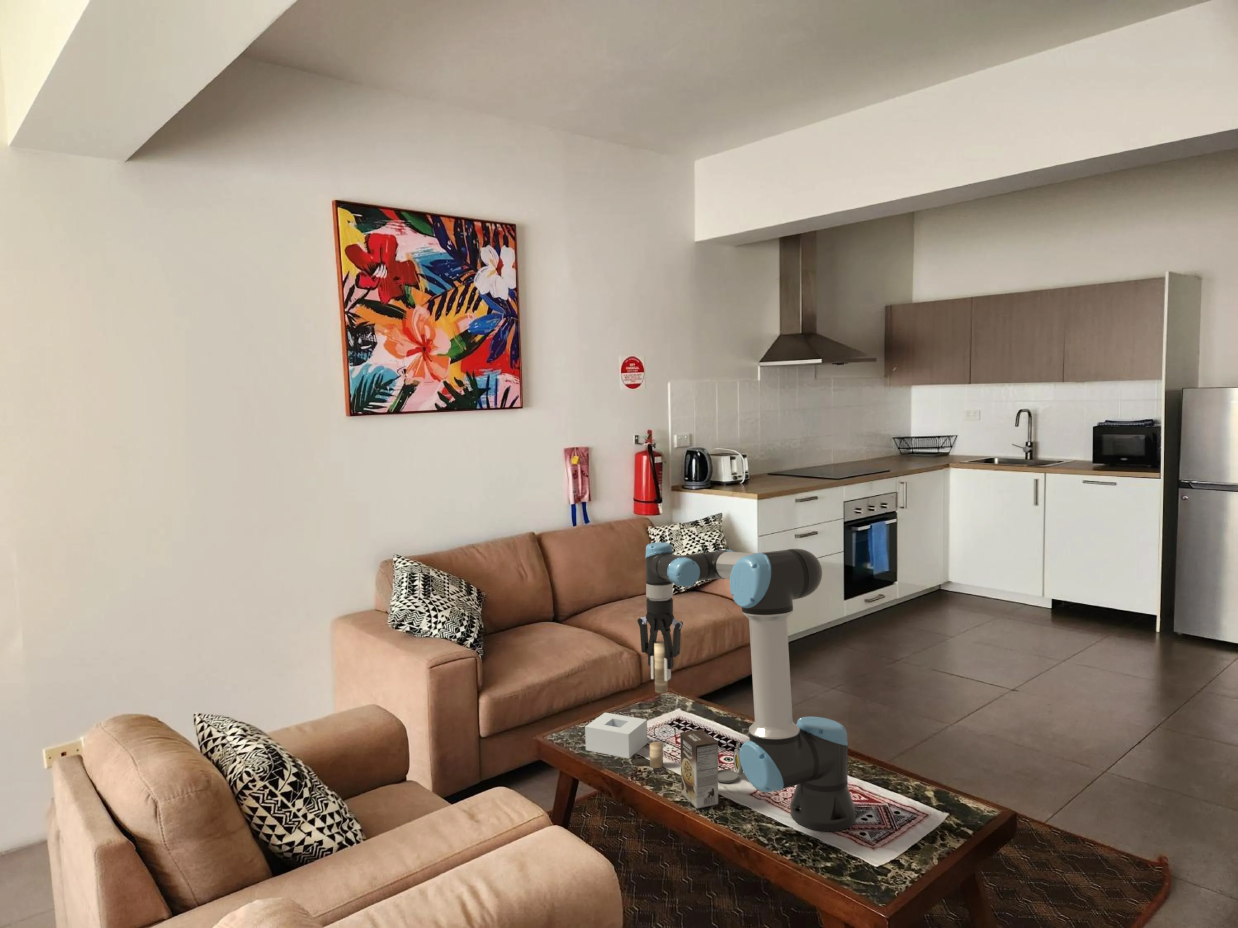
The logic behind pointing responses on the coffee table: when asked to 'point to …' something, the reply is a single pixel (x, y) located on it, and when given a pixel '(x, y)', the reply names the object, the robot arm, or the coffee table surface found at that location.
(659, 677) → the tall peg
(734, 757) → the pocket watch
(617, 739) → the hole block
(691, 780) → the coffee box
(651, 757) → the short peg
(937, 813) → the coffee table surface
